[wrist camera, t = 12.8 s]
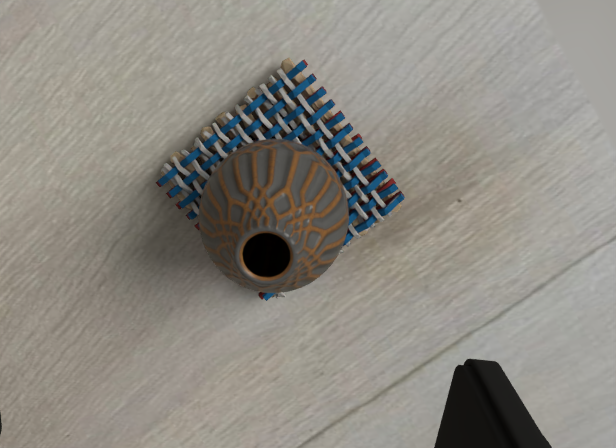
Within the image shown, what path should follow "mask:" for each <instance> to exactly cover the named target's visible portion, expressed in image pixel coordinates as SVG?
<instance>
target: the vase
mask: <svg viewBox="0 0 616 448" xmlns="http://www.w3.org/2000/svg"><path fill="white" fill-rule="evenodd" d="M348 224H349V208H348V201H347V197H346V193H345V190H344V187H343V185H342V183H341V180H340V178H339V177H338V175H337V173H336V172H335V170H334V169H333V168H332V166H331V165H330V164H329V163H328V162H327V161H326V160H325V159H324V158H323V157H322V156H321V155H320V154H318V153H317V152H316V151H314V150H313V149H311V148H309V147H307V146H305V145H303V144H300V143H297V142H294V141H290V140H284V139H265V140H259V141H255V142H252V143H249V144H247V145H245V146H242V147H240V148H239V149H237V150H235V151H234V152H232V153H231V154H230V155H228V156H227V157H226V158H225V159H224V160H223V161H222V162H221V163H220V164H219V165H218V166H217V167H216V168H215V170H214V171H213V172H212V174H211V176H210V177H209V179H208V181H207V183H206V185H205V187H204V189H203V192H202V196H201V200H200V206H199V227H200V233H201V237H202V241H203V244H204V246H205V249H206V251H207V253H208V255H209V256H210V258H211V260H212V261H213V263H214V264H215V265H216V267H217V268H218V269H219V270H220V271H221V272H222V273H223V274H224V275H225V276H227V277H228V278H229V279H231V280H232V281H233V282H235V283H237V284H239V285H241V286H243V287H245V288H247V289H250V290H254V291H258V292H264V293H282V292H288V291H292V290H295V289H298V288H301V287H303V286H305V285H307V284H309V283H311V282H313V281H314V280H316V279H317V278H318V277H320V276H321V275H322V274H323V273H324V272H325V271H326V270H327V269H328V268H329V267H330V266H331V264H332V263H333V262H334V260H335V259H336V257H337V256H338V254H339V252H340V250H341V248H342V246H343V244H344V241H345V238H346V234H347V230H348Z"/></svg>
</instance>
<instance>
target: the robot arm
mask: <svg viewBox="0 0 616 448" xmlns="http://www.w3.org/2000/svg"><path fill="white" fill-rule="evenodd" d="M1 429H2V424H1V414H0V434H1ZM434 448H552V447H551V445H550V444H549V442H548V441H547V440H546V438H545V437H544V436H543V435H542V433H541V432H540V430H539V428H538V427H537V425H536V424H535V422H534V420H533V419H532V417H531V415H530V414H529V412H528V410H527V409H526V407H525V406H524V404H523V402H522V401H521V399H520V397H519V396H518V394H517V393H516V391H515V389H514V388H513V386H512V384H511V383H510V381H509V379H508V378H507V376H506V375H505V373H504V371H503V370H502V368H501V366H500V365H499V364H498V363H497V362H495V361H486V360H477V359H467V360H466V361H465V363H464V365H458V366H457V367H456V368H455V371H454V375H453V379H452V382H451V386H450V390H449V394H448V398H447V401H446V405H445V409H444V413H443V417H442V420H441V424H440V428H439V432H438V436H437V439H436V443H435V447H434Z"/></svg>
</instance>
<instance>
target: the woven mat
mask: <svg viewBox="0 0 616 448" xmlns="http://www.w3.org/2000/svg"><path fill="white" fill-rule="evenodd" d="M307 65H308V64H307V63H306V61H305V60H303V61H301V62H300V63H299V64H298V65H296V66H295V64H294V63H293V62H292V61H291V59H290V58H288V59H285V60H283V61H282V64H281V69H279V70H278V71H277V72H278V74H279V75H280V77H281V79H280V80H278V79H277V78H276V77H275V78H274V77H273V76H272V75H271V76H270V77H269V78H268V79H269V81H270V82H269V83H268V84H267V87H268V88H269V89H267V87H266V86H265V84H264V83H263V84H261V85H260V86H259V87H260V88H261V89H262V91H263V92H264V93H262V92H261V90H260V89H259V88H257V89H255V88H253V87H252V88H251V89H250V90H249V91H248V92H247V94H248V95H247V96H246V97H245V98H244V100H245V101H246V102H247V103H248V104H249V105H248V106H246V105H245V104H244V105H242V106H240V107H239V105H238V104H236V106H235V109H236V114H237V115H236V116H235V117H233V116H232V115H231V114H230V113H229V112H226V113H225V112H223V113H221V114H220V115H218V116H217V118H216V119H215V120H216V121H217V122H218V123H219V124H220V126H221V127H222V128H220V129H219V127H218V126H217V124H216V122H215V123H213V124H212V125H213V127H214V129H215V131H216V133H215V134H214V132H213V130H212V129H211V127H204V128H202V130H201V132H200V134H201V136H202V138H203V139H204V141H205V142H204V143H201V141H200V140H199V139H198V137H197V138H196V139H195V143H194V144H193V145H194V146H193V147H192V148H191V150H192V151H193V152H192V153H191V154H190V153H189V152H187V151H186V150H185V149H184V150H182V151H180V152H182V153H183V154H184V155H185V156H187V157H185V156H184V155H182V154H180V153H178V152H174V153H173V154H172V155H171V163H173V164H175V165H176V166H175V167H174V168H172V167H171V166H170V165H168V164H167V163H165V164H164V165H163V166H164V167H163V168H162V169H161V170H162V172H161V174H162V175H163V177H162V178H161V179H160V180H158V181H157V182H156V184H157V185H158V186H159V187H161V186H163V185H164V184H165V183H167V182H168V183H169V184H170V185H171V187H172V189H171V190H170V191H169V192H167V193H166V194H167V195H168V196H169V197H170V198H172V197H174V196H175V195H176V194H177V196H178V198H179V200H180V201H179V202H178V203H177V204H176V206H177V207H178V208H179V209H181V208H182V209H183V208H184V207H187V208H188V209H190V210H191V211H190V212H189V213H188V214H187V215H186V216H187V218H188V219H189V220H190V219H194V218H195V217H196V216H197V215H198V216H199V206H200V200H201V199H200V198H199V195H200V194H201V195H202V192H203V189H204V187H205V185H206V183H207V181H208V179H209V177H210V176H209V175H208V174H207V173H206V172H205V170H207V169H208V170H209V172H210V173H211V174H212V172H213V171H214V170H215V168H216V167H217V166H218V165H219V164H220V163H221V162H220V161H219V159H220V158H221V157H222V158H223V159H225V158H226V157H227V156H228V155H230V154H231V153H232V151H231V150H233V152H234V151H235V150H237V148H236V146H238V147H239V148H240V147H242V146H245V145H247V144H249V143H252V142H255V141H259V140H265V139H272V138H271V137H273V136H275V137H276V139H284V140H290V141H294V142H297V143H300V144H303V145H305V146H308V147H309V148H311V149H313V150H314V151H316V152H317V153H318V154H320V155H321V156H322V157H323V158H324V159H325V160H326V161H327V162H328V163H329V164H330V165H331V166H332V168H333V169H334V170H335V172H336V173H337V175H338V177H339V178H340V180H341V183H342V185H343V187H344V190H345V193H346V197H347V201H348V208H349V224H348V230H347V234H346V238H345V241H344V244H343V246H344V245H347V246H349V245H350V244H351V243H350V240H351V239H352V237H353V236H355V237H356V238H357V239H358V238H361V236H363V235H365V234H368V229H369V227H371V228H373V227H375V225H374V224H373V223H378V222H382V221H385V220H384V219H383V218H382V217H383V216H385V215H388V216H389V217H390V216H391V215H392V213H391V212H398V210H399V209H400V208H401V207H402V206H401V204H400V202H401V201H402V200H404V198H405V197H404V195H403V194H402V192H401V191H399V192H398V193H396V194H395V195H394V194H393V192H394V191H396V190H397V189H398V187H397V186H396V185H395V184H396V182H395V181H394V180H393V178H392V179H390V180H389V181H388V182H387V183H384V181H383V180H384V179H386V178H387V177H388V175H387V174H388V173H387V172H386V171H385V170H384V169H382V170H381V171H379V172H378V173H377V172H376V171H375V170H377V169H378V168H379V167H380V166H381V165H380V163H379V162H378V160H377V159H376V158H374V159H373V160H371V161H370V162H369V161H368V160H367V159H366V157H367V156H368V155H370V153H371V152H370V150H369V149H368V147H367V146H366V147H365V148H363V149H362V150H361V151H360V149H359V148H358V146H359V145H361V144H362V143H363V141H362V137H361V136H360V134H357V135H355V136H354V137H352V138H350V137H349V135H348V134H349V133H350V132H351V131H352V130H353V127H352V126H351V125H350V123H348V124H347V125H346V126H345V127H342V126H341V124H340V123H339V122H341V121H342V120H343V119H345V117H344V115H343V113H342V112H341V111H339V112H338V113H336V114H335V115H333V114H332V112H331V111H330V109H331V108H332V107H333V106H334V105H335V103H334V102H333V101H332V99H331V100H329V101H328V102H327V103H324V102H323V101H322V99H321V97H322V96H323V95H325V94H326V90H325V89H324V87H323V86H322V87H321V88H320V89H318V90H317V91H315V90H314V89H313V87H312V86H311V84H312V83H313V82H314V81H316V79H317V78H316V77H315V76H314V74H311V75H310V76H309V77H308V78H305V77H304V75H303V74H302V73H301V71H302V70H303V69H305V68H306V67H307ZM283 71H284V72H283ZM285 74H286V75H285ZM290 80H291V81H292V82H291V81H290ZM285 84H287V86H288V87H289V88H290V89H291V90H292V91H291V92H289V93H287V91H286V90H285V89H284V87H283V86H284V85H285ZM293 84H294V85H295V86H296V87H295V86H294V85H293ZM301 93H302V95H303V96H304V97H305V99H304V98H303V96H302V95H301ZM272 95H274V96H275V98H276V99H277V100H278V101H277V100H276V99H275V98H274V97H273V96H272ZM295 97H297V98H298V100H299V101H300V102H301V103H300V104H299V105H296V104H295V102H294V101H293V99H294V98H295ZM268 99H269V100H270V101H271V102H272V103H273V104H274V105H273V106H272V105H271V103H270V102H269V101H268ZM310 105H311V106H312V108H313V109H314V110H315V112H314V111H313V109H312V108H311V107H310ZM305 110H307V111H308V112H309V114H310V116H309V117H308V118H307V117H306V116H305V115H304V114H303V112H304V111H305ZM253 111H255V112H256V114H257V115H258V118H257V119H256V120H255V119H254V117H253V116H252V114H251V112H253ZM278 111H279V112H280V113H281V114H282V115H283V118H281V117H280V116H279V114H278V113H277V112H278ZM262 113H263V114H262ZM320 118H321V119H322V121H323V122H324V124H323V122H322V121H321V120H320ZM240 121H242V123H243V124H244V126H245V127H246V128H245V129H244V130H242V128H241V127H240V125H239V122H240ZM315 122H316V123H317V124H318V126H319V128H318V129H315V128H314V126H313V125H312V124H314V123H315ZM263 123H264V124H265V125H266V126H267V127H268V128H269V129H268V130H267V131H266V130H265V129H264V128H262V127H261V125H262V124H263ZM288 123H289V124H290V125H291V127H292V128H293V130H291V129H290V128H289V127H288V126H287V124H288ZM329 130H330V131H331V132H332V134H333V135H332V134H331V133H330V132H329ZM226 133H227V134H228V135H229V136H230V137H231V139H232V140H230V139H229V138H227V137H226V136H225V134H226ZM250 134H251V135H252V136H253V137H254V138H255V139H256V140H255V141H253V140H252V139H250V138H249V137H248V136H249V135H250ZM279 134H280V135H279ZM324 134H325V135H326V136H327V137H328V138H329V139H327V140H326V141H324V139H323V138H322V136H323V135H324ZM297 136H300V137H301V138H302V139H303V140H302V141H301V142H300V140H299V139H298V138H297ZM281 137H282V138H281ZM220 138H221V139H223V140H224V141H225V142H226V143H227V144H225V143H224V142H223V141H221V140H220ZM338 142H339V143H340V144H339V143H338ZM340 145H341V146H340ZM334 146H335V147H336V149H337V150H336V151H335V152H333V151H332V150H331V148H333V147H334ZM209 147H210V148H211V149H212V150H213V151H215V152H216V153H215V154H214V155H213V154H212V153H211V152H210V151H208V150H207V149H208V148H209ZM347 154H348V155H349V156H350V157H351V158H350V157H349V156H348V155H347ZM197 157H198V158H199V159H200V161H201V162H202V163H203V164H201V165H200V166H199V164H198V162H197V161H196V158H197ZM342 158H344V159H345V161H346V162H345V163H343V164H342V163H341V161H340V160H341V159H342ZM191 162H192V164H193V165H192V164H191ZM357 166H358V168H359V169H358V168H357ZM352 169H353V171H354V172H353V173H351V174H349V171H351V170H352ZM179 172H182V173H183V174H185V175H186V176H187V177H186V178H184V179H183V180H182V179H181V178H180V176H179V175H178V173H179ZM365 177H366V178H367V180H366V179H365ZM360 181H362V183H363V184H362V185H360V186H359V185H358V183H359V182H360ZM191 182H193V184H194V186H195V189H194V190H192V189H190V188H189V187H188V186H187V185H189V184H190V183H191ZM374 189H375V190H376V191H375V190H374ZM347 190H348V191H349V192H350V193H349V192H348V191H347ZM368 193H371V195H370V196H369V197H368V196H367V195H366V194H368ZM381 199H383V201H384V202H383V201H382V200H381ZM356 201H357V202H358V203H359V204H358V203H357V202H356ZM377 202H378V203H379V206H378V207H376V206H375V205H376V204H377ZM365 212H366V213H367V214H366V213H365ZM195 227H196V228H197V229H198V230H200V227H199V223H197V224H196V225H195ZM343 252H344V251H343V250H342V249H341V250H340V252H339V253H343ZM338 255H339V254H338ZM280 296H281V297H285V294H284V293H264V292H260V293H259V297H260V298H261V299H263V298H264V299H265V300H266V301H267V300H268V299H269V298H270V297H276V298H278V297H280Z"/></svg>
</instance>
